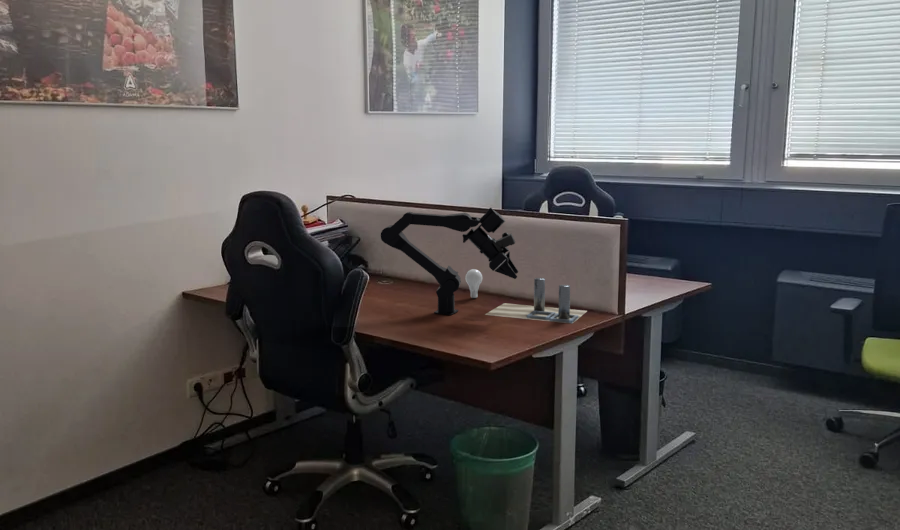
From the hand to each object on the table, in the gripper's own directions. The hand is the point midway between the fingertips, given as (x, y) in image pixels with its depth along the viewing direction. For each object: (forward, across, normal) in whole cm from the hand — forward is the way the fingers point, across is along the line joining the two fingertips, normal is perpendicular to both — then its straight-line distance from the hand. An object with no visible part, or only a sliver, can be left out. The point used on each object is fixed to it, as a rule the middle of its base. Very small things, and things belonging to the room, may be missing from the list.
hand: (516, 275), depth 252 cm
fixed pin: (+20, -11, -2) cm, 23 cm away
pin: (+14, 0, +3) cm, 14 cm away
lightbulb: (-2, +23, +21) cm, 31 cm away
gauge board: (+14, -3, +5) cm, 15 cm away
